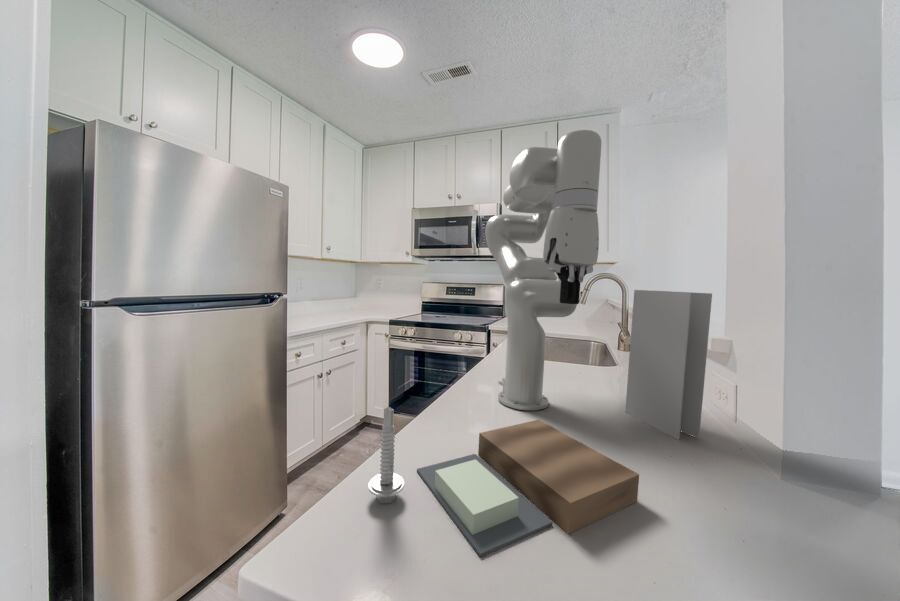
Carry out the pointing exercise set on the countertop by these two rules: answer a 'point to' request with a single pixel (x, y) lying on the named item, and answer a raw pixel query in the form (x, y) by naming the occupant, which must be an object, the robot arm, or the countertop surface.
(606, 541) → the countertop surface
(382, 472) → the screw
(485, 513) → the tile
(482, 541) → the mat
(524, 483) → the brown wooden flat block
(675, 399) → the brochure
